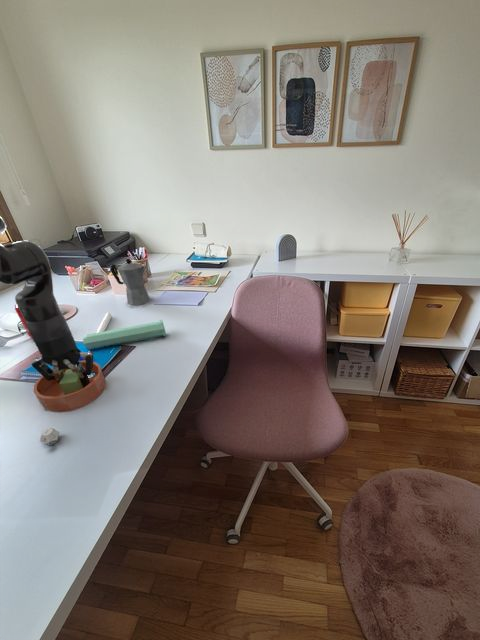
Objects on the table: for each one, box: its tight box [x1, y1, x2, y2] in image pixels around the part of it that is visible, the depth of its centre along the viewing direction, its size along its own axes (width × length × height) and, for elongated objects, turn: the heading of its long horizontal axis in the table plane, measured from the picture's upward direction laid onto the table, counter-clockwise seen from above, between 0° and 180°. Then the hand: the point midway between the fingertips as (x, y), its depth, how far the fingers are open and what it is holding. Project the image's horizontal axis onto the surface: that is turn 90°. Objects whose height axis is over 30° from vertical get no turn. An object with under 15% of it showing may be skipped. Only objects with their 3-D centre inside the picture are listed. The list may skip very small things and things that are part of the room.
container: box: [82, 319, 167, 351], centre depth 99 cm, size 6×6×25 cm
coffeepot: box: [109, 258, 150, 306], centre depth 123 cm, size 15×9×18 cm, turn 82°
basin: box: [33, 360, 107, 413], centre depth 79 cm, size 15×15×4 cm
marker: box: [95, 312, 113, 333], centre depth 109 cm, size 18×2×2 cm, turn 11°
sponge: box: [59, 369, 83, 395], centre depth 78 cm, size 4×6×4 cm, turn 13°
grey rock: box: [39, 427, 60, 446], centre depth 65 cm, size 4×4×3 cm
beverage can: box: [14, 303, 33, 340], centre depth 101 cm, size 5×5×12 cm
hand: (77, 387), depth 80 cm, fingers closed on sponge, 4 cm apart
